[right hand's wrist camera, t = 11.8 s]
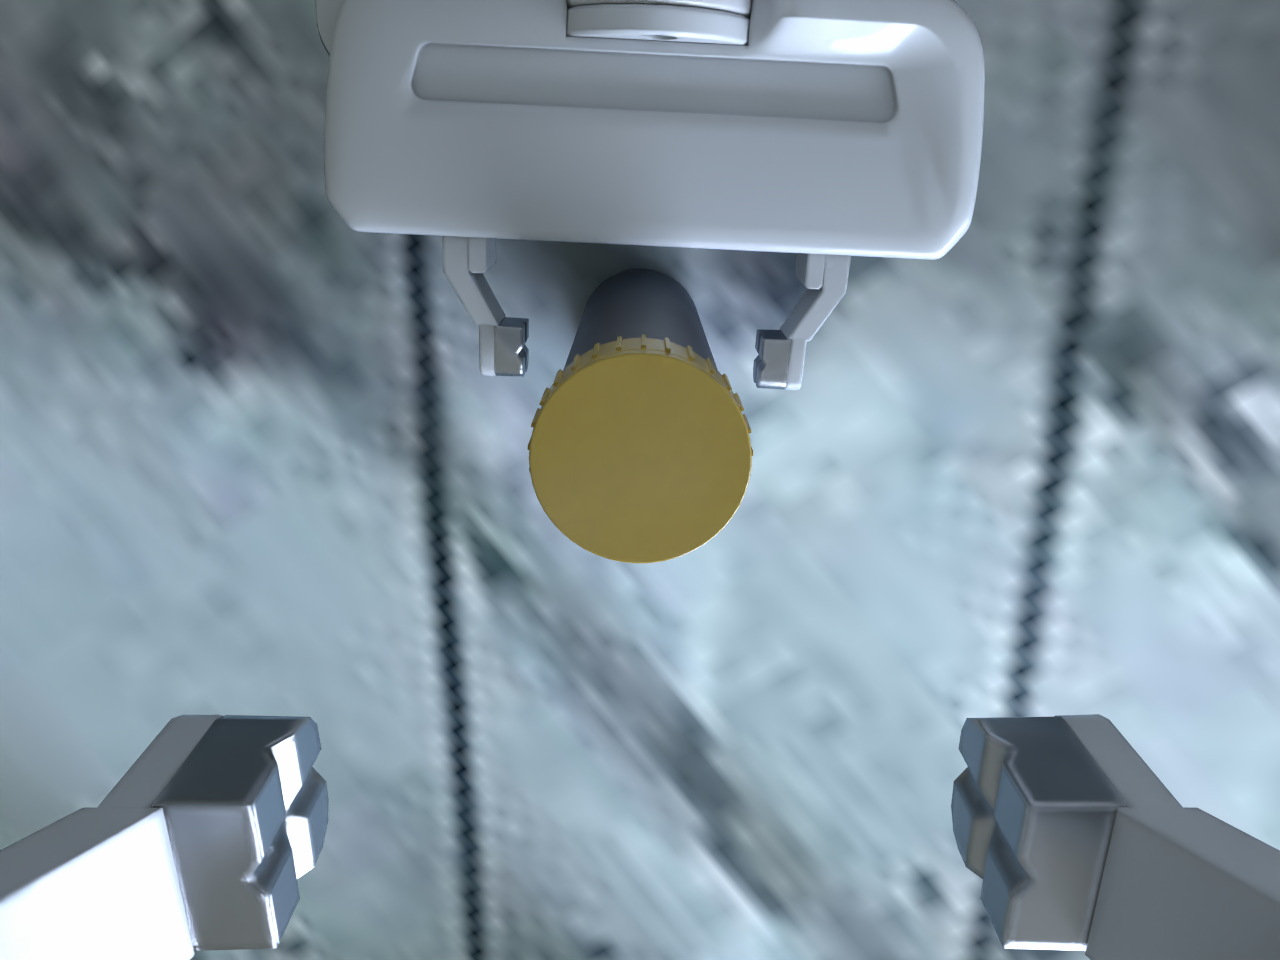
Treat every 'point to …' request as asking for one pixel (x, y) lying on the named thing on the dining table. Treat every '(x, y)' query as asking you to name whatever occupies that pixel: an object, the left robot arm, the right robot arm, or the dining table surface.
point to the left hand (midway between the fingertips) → (640, 379)
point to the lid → (640, 450)
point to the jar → (640, 313)
